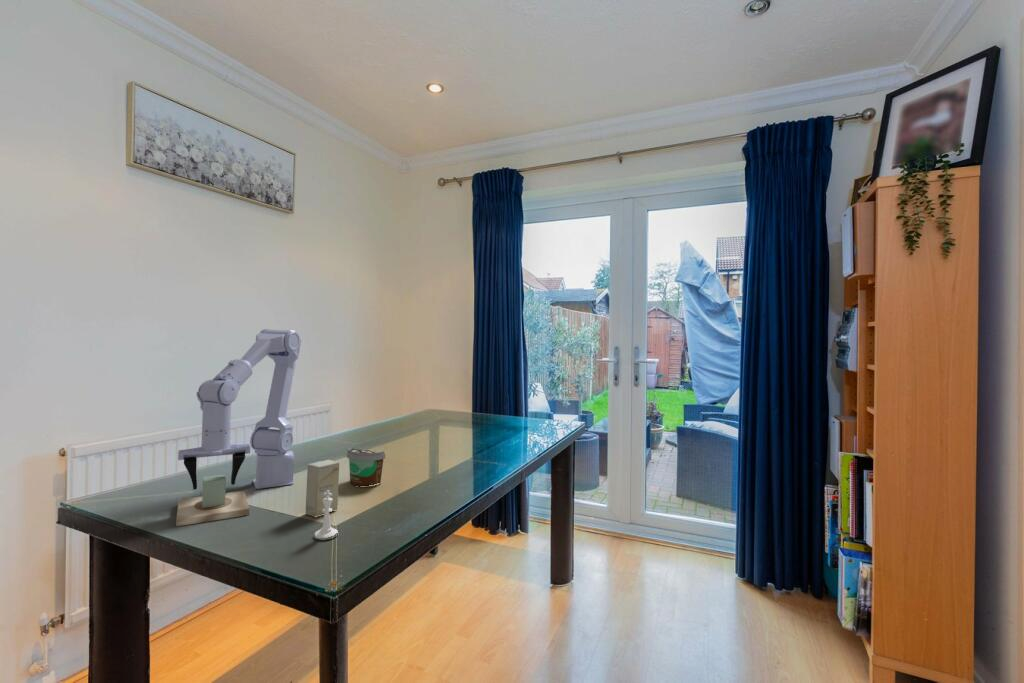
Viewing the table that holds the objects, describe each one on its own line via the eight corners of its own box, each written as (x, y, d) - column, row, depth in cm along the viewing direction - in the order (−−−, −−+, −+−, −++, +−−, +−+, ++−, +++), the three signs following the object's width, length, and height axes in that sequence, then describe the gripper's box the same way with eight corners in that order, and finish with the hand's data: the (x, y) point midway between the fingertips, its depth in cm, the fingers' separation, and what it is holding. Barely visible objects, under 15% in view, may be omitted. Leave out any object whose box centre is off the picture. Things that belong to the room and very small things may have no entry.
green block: (223, 498, 114) (224, 474, 114) (225, 504, 110) (226, 479, 110) (202, 501, 111) (203, 476, 111) (202, 507, 108) (203, 482, 108)
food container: (336, 484, 133) (337, 450, 133) (350, 478, 139) (352, 445, 139) (370, 491, 128) (371, 456, 128) (384, 485, 134) (385, 451, 134)
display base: (244, 496, 121) (244, 489, 120) (249, 514, 109) (249, 507, 109) (178, 505, 113) (178, 498, 113) (176, 526, 101) (176, 518, 101)
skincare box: (315, 518, 109) (317, 467, 109) (304, 514, 111) (306, 463, 111) (338, 510, 114) (340, 461, 114) (327, 506, 116) (329, 458, 116)
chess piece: (329, 542, 97) (331, 495, 97) (308, 539, 98) (310, 492, 98) (342, 532, 102) (344, 488, 102) (322, 530, 103) (324, 485, 103)
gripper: (178, 435, 103) (176, 495, 103) (252, 430, 111) (250, 486, 112) (179, 429, 109) (177, 486, 109) (249, 425, 117) (247, 477, 117)
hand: (214, 485), depth 111 cm, fingers open, 7 cm apart
